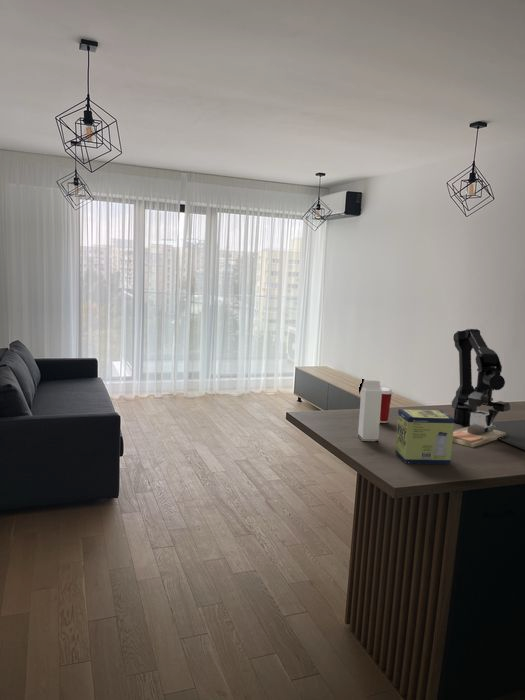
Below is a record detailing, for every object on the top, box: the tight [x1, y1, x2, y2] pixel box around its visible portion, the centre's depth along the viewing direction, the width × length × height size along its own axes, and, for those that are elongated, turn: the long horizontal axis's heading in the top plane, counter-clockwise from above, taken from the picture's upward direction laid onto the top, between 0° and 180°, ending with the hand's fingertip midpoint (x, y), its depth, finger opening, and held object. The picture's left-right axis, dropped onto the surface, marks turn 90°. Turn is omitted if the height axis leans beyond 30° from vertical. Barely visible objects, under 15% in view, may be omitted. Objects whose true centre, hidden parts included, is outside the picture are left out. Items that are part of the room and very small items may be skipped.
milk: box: [357, 380, 382, 440], centre depth 194 cm, size 6×6×22 cm
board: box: [452, 426, 507, 448], centre depth 205 cm, size 13×26×2 cm, turn 131°
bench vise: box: [467, 413, 497, 435], centre depth 208 cm, size 5×14×7 cm, turn 131°
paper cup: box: [380, 386, 393, 421], centre depth 221 cm, size 8×8×14 cm
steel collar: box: [469, 410, 493, 428], centre depth 207 cm, size 6×6×5 cm
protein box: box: [394, 408, 455, 465], centre depth 176 cm, size 10×16×16 cm
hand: (480, 424), depth 208 cm, fingers closed on steel collar, 6 cm apart
